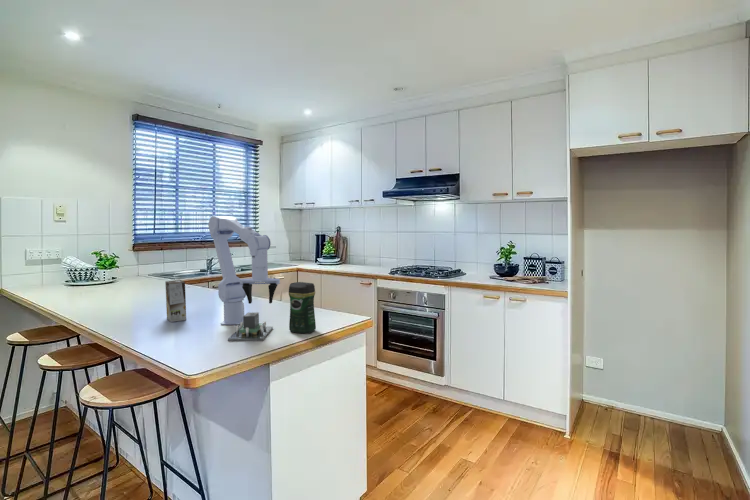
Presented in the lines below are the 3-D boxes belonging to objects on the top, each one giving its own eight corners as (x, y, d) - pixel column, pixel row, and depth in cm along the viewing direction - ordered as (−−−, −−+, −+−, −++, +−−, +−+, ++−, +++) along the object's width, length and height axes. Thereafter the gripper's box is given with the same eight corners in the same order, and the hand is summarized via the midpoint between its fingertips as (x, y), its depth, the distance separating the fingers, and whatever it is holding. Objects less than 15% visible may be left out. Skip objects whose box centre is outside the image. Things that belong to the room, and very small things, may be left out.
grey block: (246, 326, 152) (246, 311, 152) (262, 325, 152) (262, 311, 152) (239, 332, 143) (239, 317, 143) (256, 332, 143) (256, 317, 143)
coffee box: (187, 320, 169) (185, 282, 168) (170, 322, 166) (168, 283, 165) (182, 316, 177) (181, 279, 176) (166, 318, 173) (164, 281, 172)
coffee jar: (319, 330, 154) (318, 281, 153) (306, 335, 147) (306, 284, 146) (298, 327, 158) (298, 280, 157) (285, 332, 151) (284, 282, 150)
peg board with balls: (241, 328, 156) (241, 318, 155) (272, 328, 156) (272, 318, 156) (228, 341, 140) (227, 329, 139) (263, 340, 140) (262, 329, 140)
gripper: (237, 268, 148) (238, 305, 149) (277, 268, 149) (277, 305, 150) (242, 266, 155) (243, 301, 156) (280, 266, 156) (281, 301, 157)
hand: (260, 303), depth 153 cm, fingers open, 7 cm apart
